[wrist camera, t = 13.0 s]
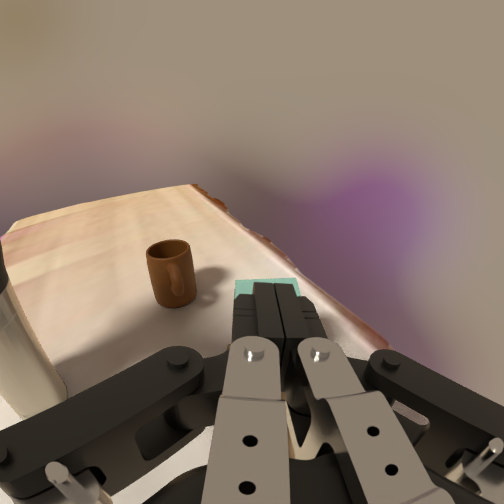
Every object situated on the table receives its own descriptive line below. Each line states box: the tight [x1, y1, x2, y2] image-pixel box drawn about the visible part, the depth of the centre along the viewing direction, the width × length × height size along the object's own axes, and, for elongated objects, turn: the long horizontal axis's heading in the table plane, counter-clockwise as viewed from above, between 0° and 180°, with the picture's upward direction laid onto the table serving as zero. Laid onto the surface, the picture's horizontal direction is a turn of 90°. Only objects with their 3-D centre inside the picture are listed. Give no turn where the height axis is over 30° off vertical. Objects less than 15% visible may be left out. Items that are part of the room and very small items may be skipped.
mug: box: [146, 240, 197, 308], centre depth 46 cm, size 12×8×9 cm, turn 23°
